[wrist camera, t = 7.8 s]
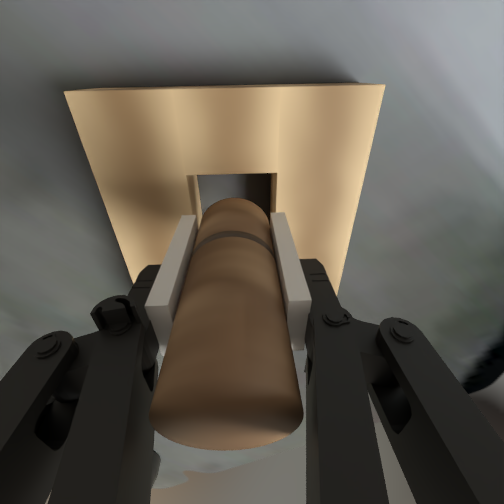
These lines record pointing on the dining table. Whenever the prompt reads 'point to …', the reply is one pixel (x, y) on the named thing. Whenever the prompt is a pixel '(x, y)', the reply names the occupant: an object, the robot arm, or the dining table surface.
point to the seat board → (229, 157)
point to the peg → (229, 341)
